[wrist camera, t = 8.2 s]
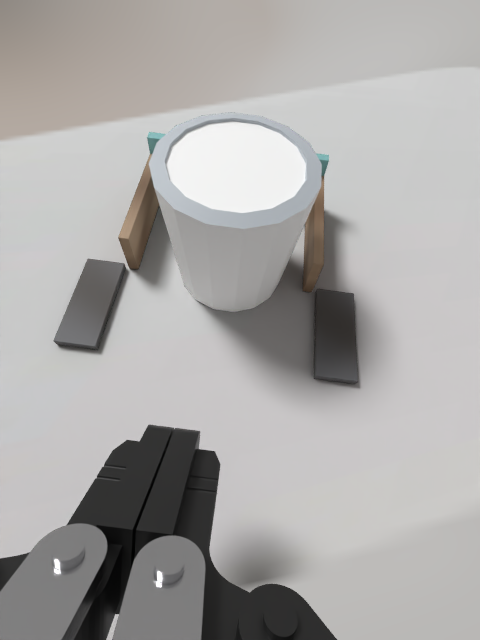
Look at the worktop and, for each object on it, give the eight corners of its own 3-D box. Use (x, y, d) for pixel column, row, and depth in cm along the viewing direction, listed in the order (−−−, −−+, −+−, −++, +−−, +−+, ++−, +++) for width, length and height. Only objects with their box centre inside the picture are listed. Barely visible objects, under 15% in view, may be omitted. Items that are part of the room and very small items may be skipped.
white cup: (167, 324, 18) (142, 227, 12) (171, 224, 21) (152, 108, 15) (299, 320, 19) (340, 224, 12) (282, 223, 22) (308, 110, 16)
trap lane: (354, 384, 17) (375, 364, 15) (56, 344, 17) (33, 319, 15) (347, 213, 23) (361, 180, 20) (122, 184, 23) (112, 148, 20)
